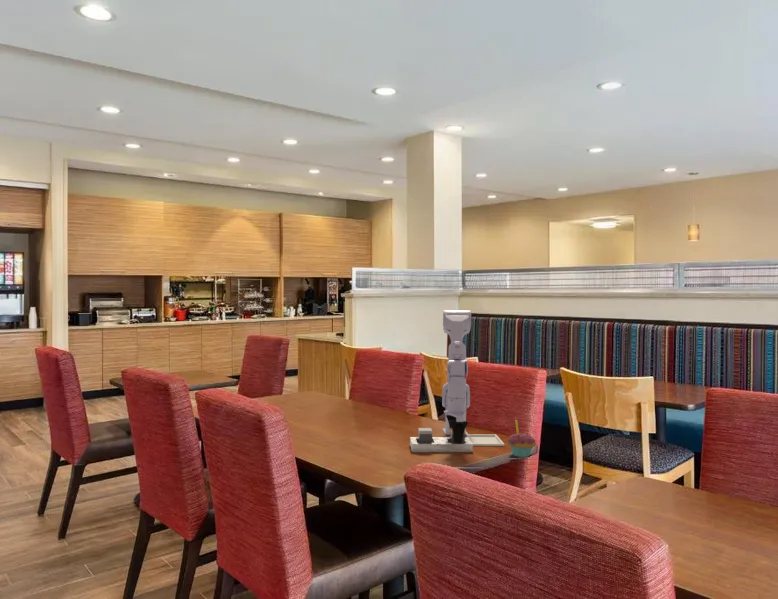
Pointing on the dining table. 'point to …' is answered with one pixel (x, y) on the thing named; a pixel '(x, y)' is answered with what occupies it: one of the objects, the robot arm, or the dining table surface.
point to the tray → (485, 440)
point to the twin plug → (424, 435)
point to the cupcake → (521, 443)
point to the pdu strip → (440, 445)
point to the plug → (453, 437)
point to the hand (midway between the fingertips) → (456, 439)
